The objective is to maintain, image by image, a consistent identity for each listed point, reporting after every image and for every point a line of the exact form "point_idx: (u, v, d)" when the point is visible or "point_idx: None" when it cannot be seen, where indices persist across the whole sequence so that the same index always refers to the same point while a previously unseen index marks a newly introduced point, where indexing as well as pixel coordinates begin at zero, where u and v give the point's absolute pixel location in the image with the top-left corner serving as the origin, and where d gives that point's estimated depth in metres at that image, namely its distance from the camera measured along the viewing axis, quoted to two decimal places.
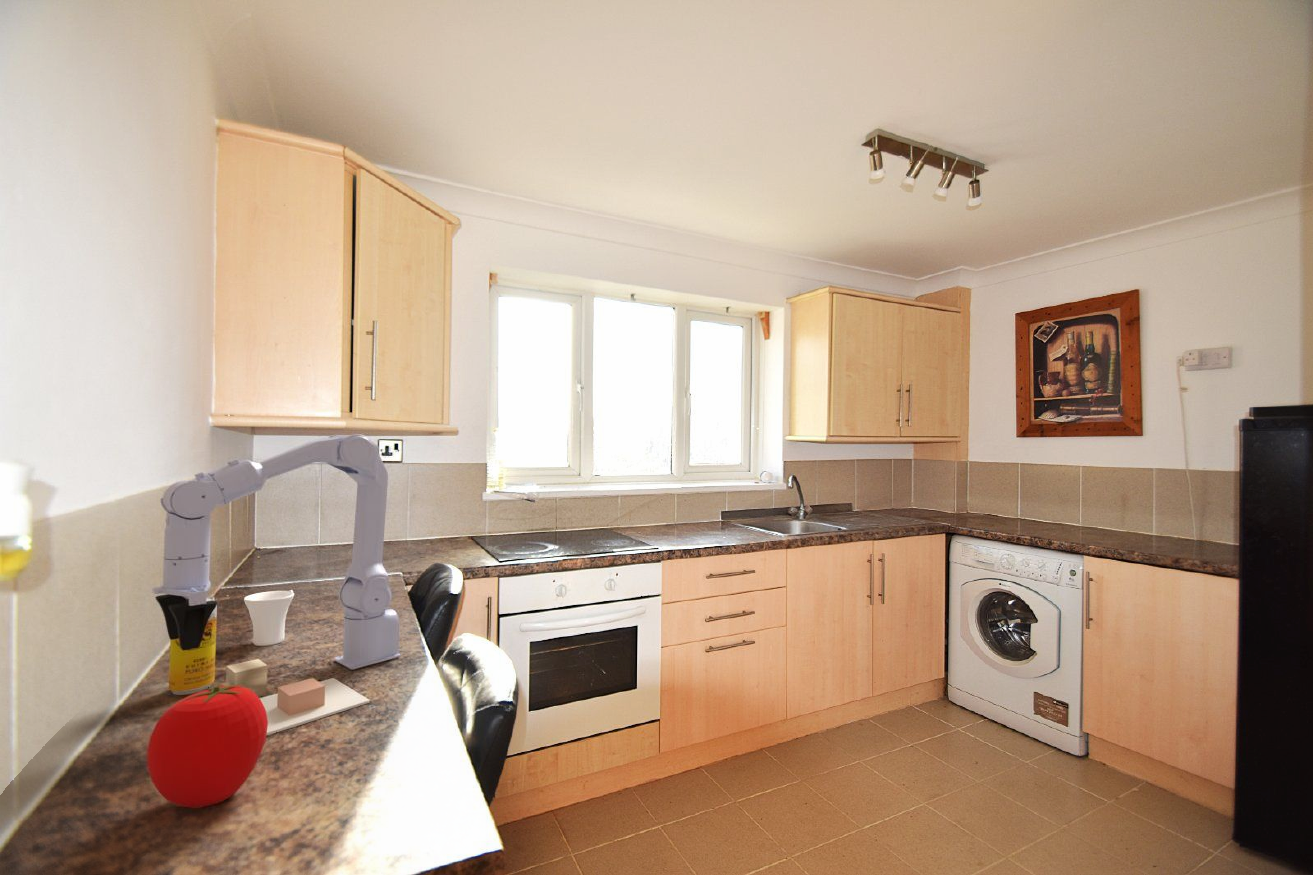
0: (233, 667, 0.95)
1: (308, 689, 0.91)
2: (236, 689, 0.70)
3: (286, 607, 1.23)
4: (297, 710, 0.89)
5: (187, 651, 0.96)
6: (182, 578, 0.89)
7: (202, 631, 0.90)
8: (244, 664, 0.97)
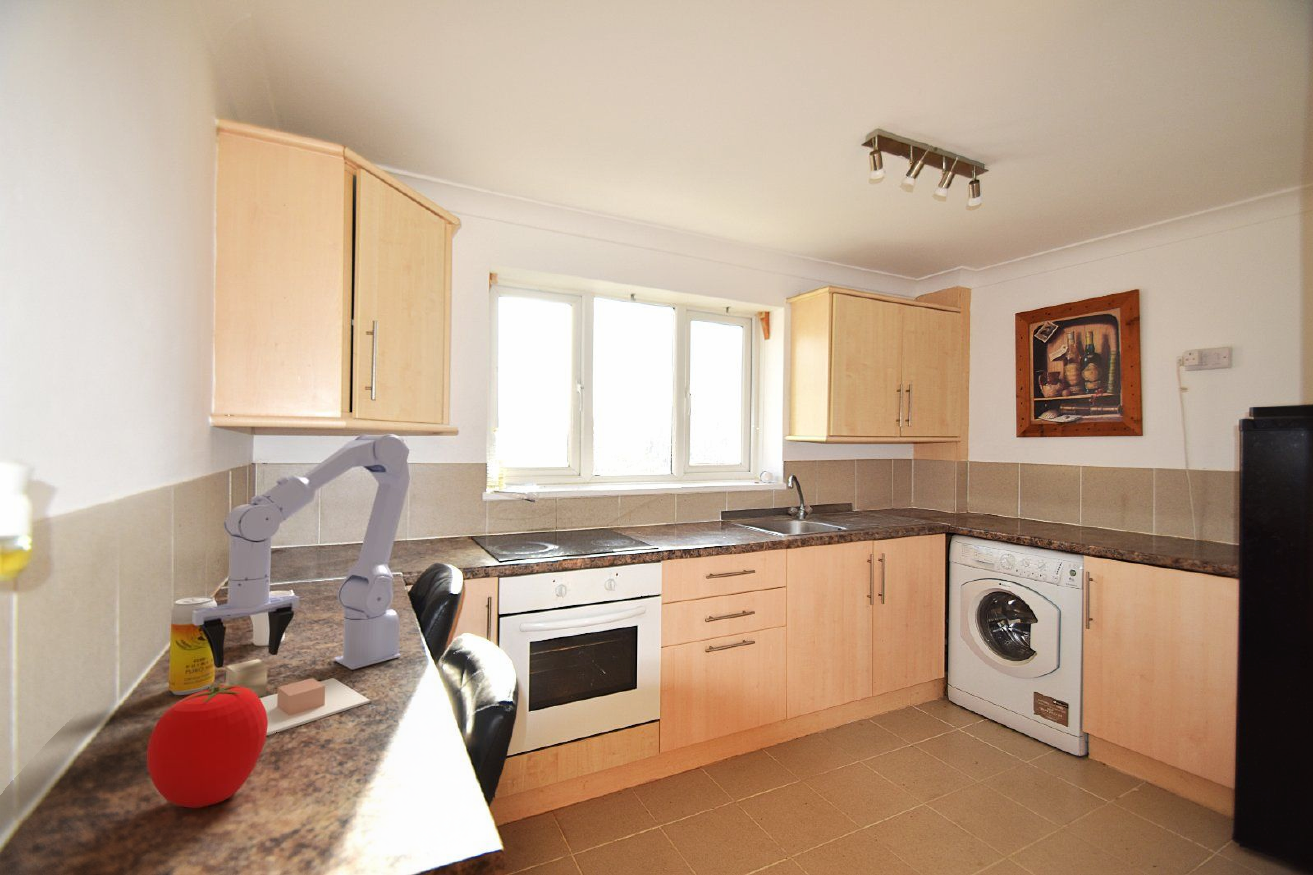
0: (233, 667, 0.95)
1: (308, 689, 0.91)
2: (236, 689, 0.70)
3: None
4: (297, 710, 0.89)
5: (188, 651, 0.96)
6: None
7: (215, 653, 0.92)
8: (244, 664, 0.97)
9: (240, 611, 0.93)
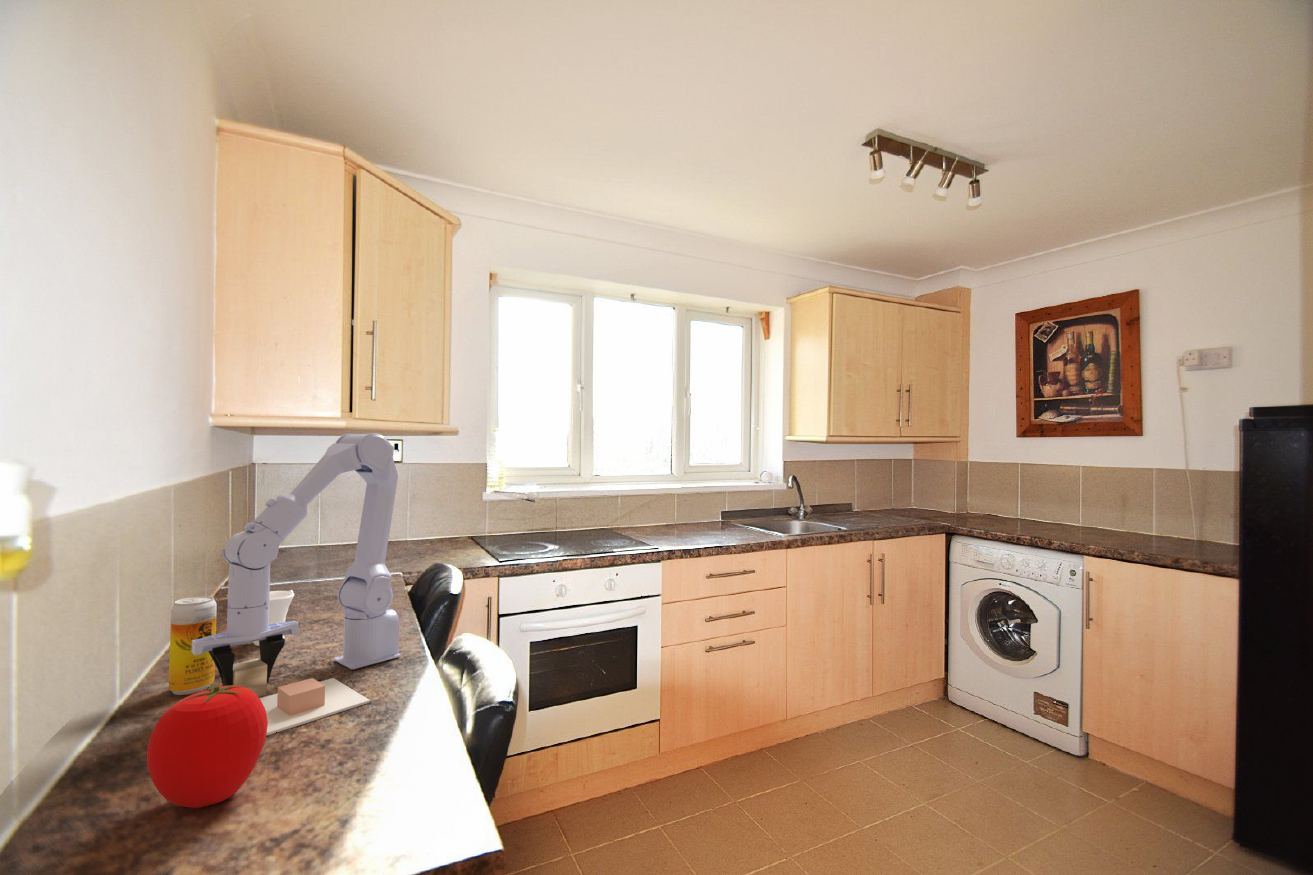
0: (233, 666, 0.95)
1: (308, 689, 0.91)
2: (236, 689, 0.70)
3: (286, 607, 1.23)
4: (297, 710, 0.89)
5: (187, 651, 0.96)
6: None
7: (225, 679, 0.93)
8: (244, 663, 0.97)
9: (239, 639, 0.93)
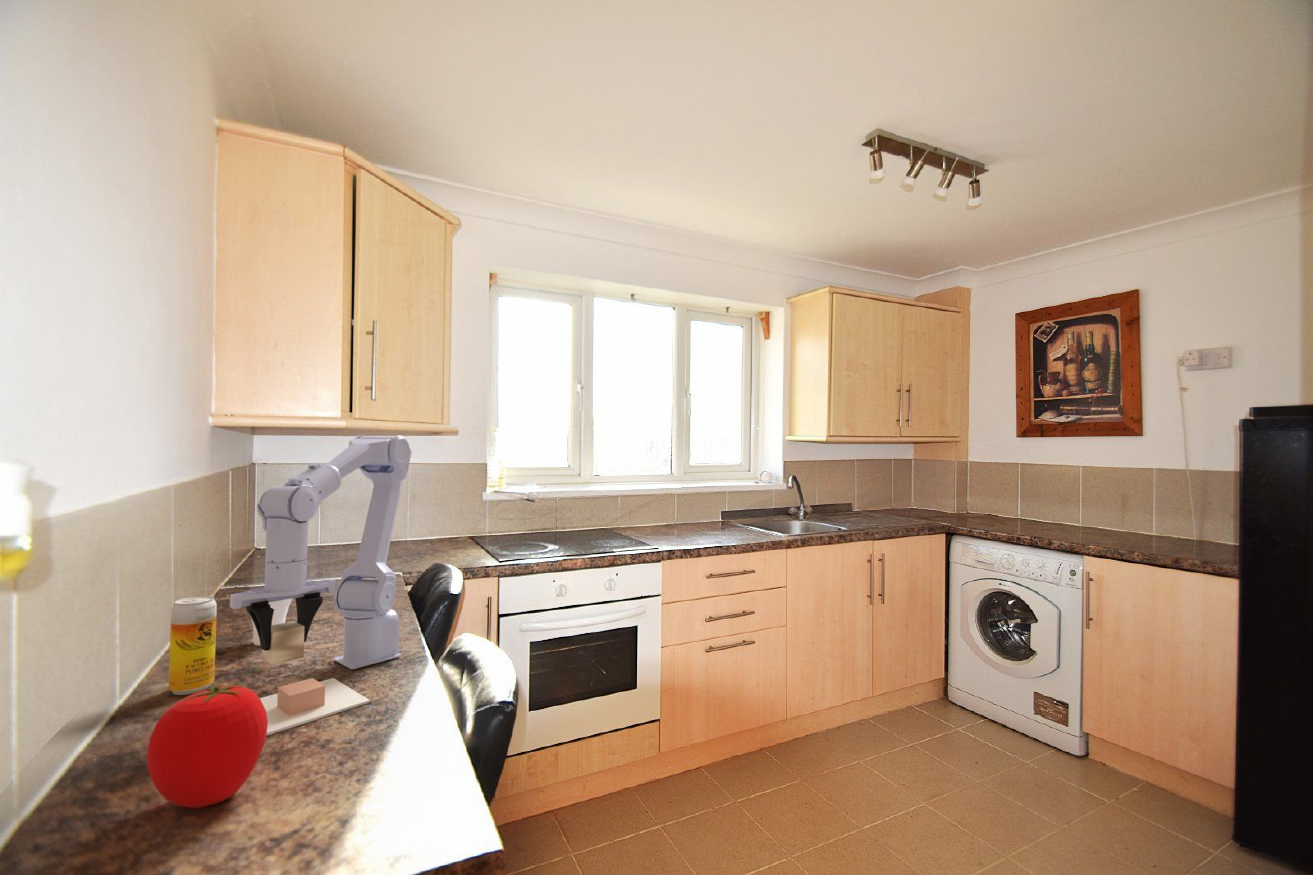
0: None
1: (308, 689, 0.91)
2: (236, 689, 0.70)
3: (286, 607, 1.23)
4: (297, 710, 0.89)
5: (187, 651, 0.96)
6: None
7: (263, 635, 0.90)
8: (280, 625, 0.94)
9: (278, 594, 0.91)
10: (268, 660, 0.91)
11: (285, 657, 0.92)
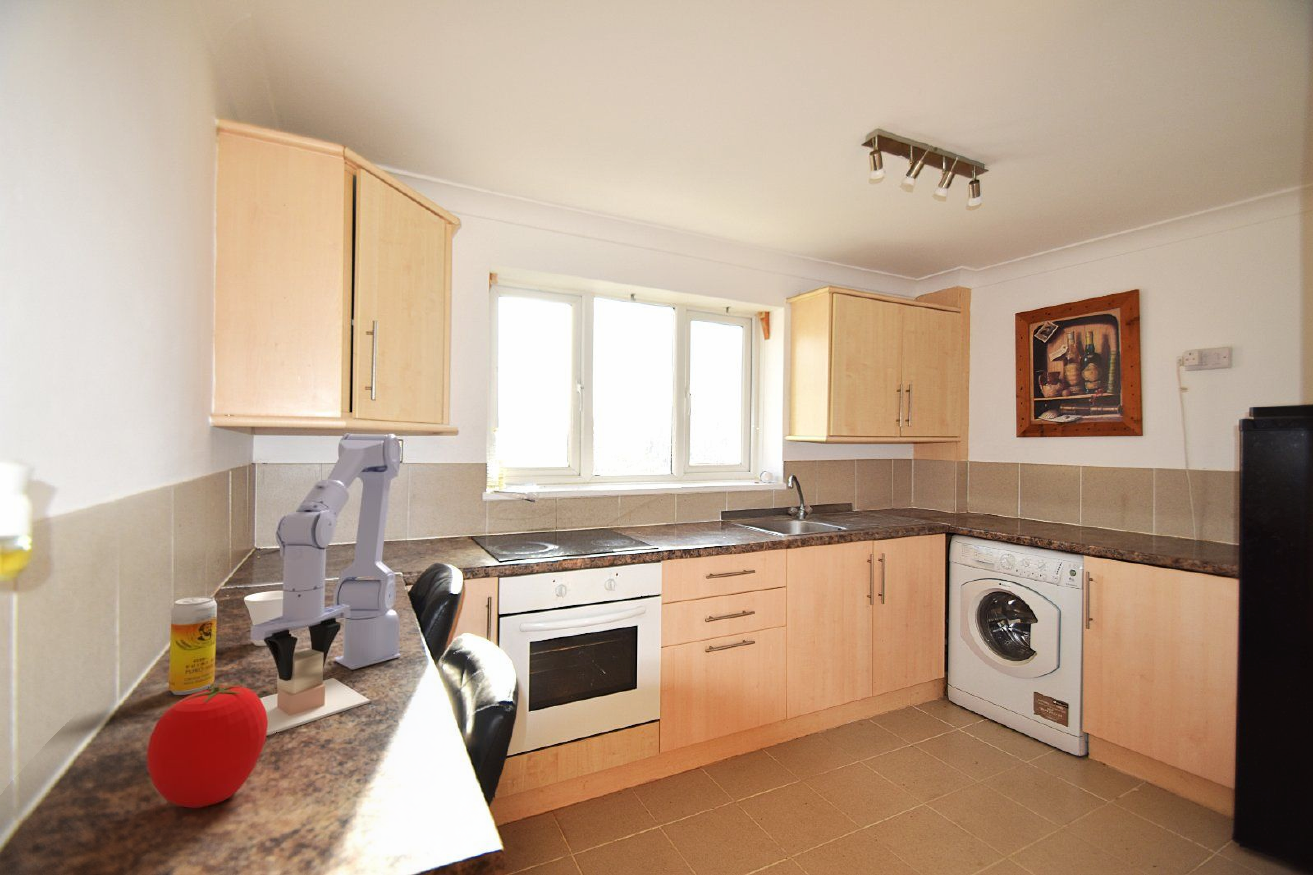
0: None
1: (308, 689, 0.91)
2: (236, 689, 0.70)
3: None
4: (297, 710, 0.89)
5: (187, 651, 0.96)
6: None
7: (285, 666, 0.88)
8: (296, 653, 0.92)
9: (301, 623, 0.89)
10: (288, 689, 0.90)
11: (306, 685, 0.91)
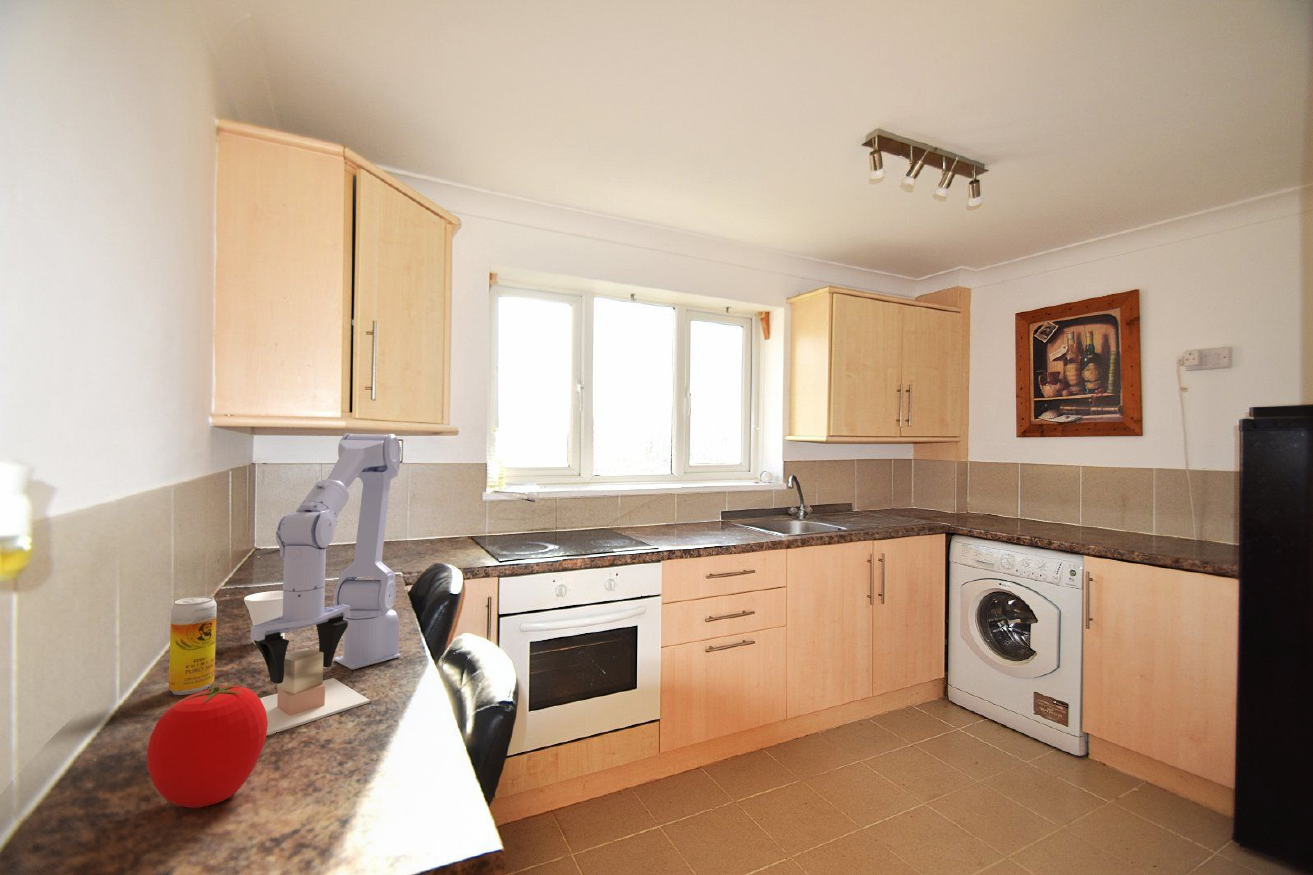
0: (287, 656, 0.91)
1: (308, 689, 0.91)
2: (236, 689, 0.70)
3: None
4: (297, 710, 0.89)
5: (187, 651, 0.96)
6: None
7: (276, 668, 0.87)
8: (296, 653, 0.92)
9: (301, 623, 0.89)
10: (288, 689, 0.90)
11: (306, 685, 0.91)
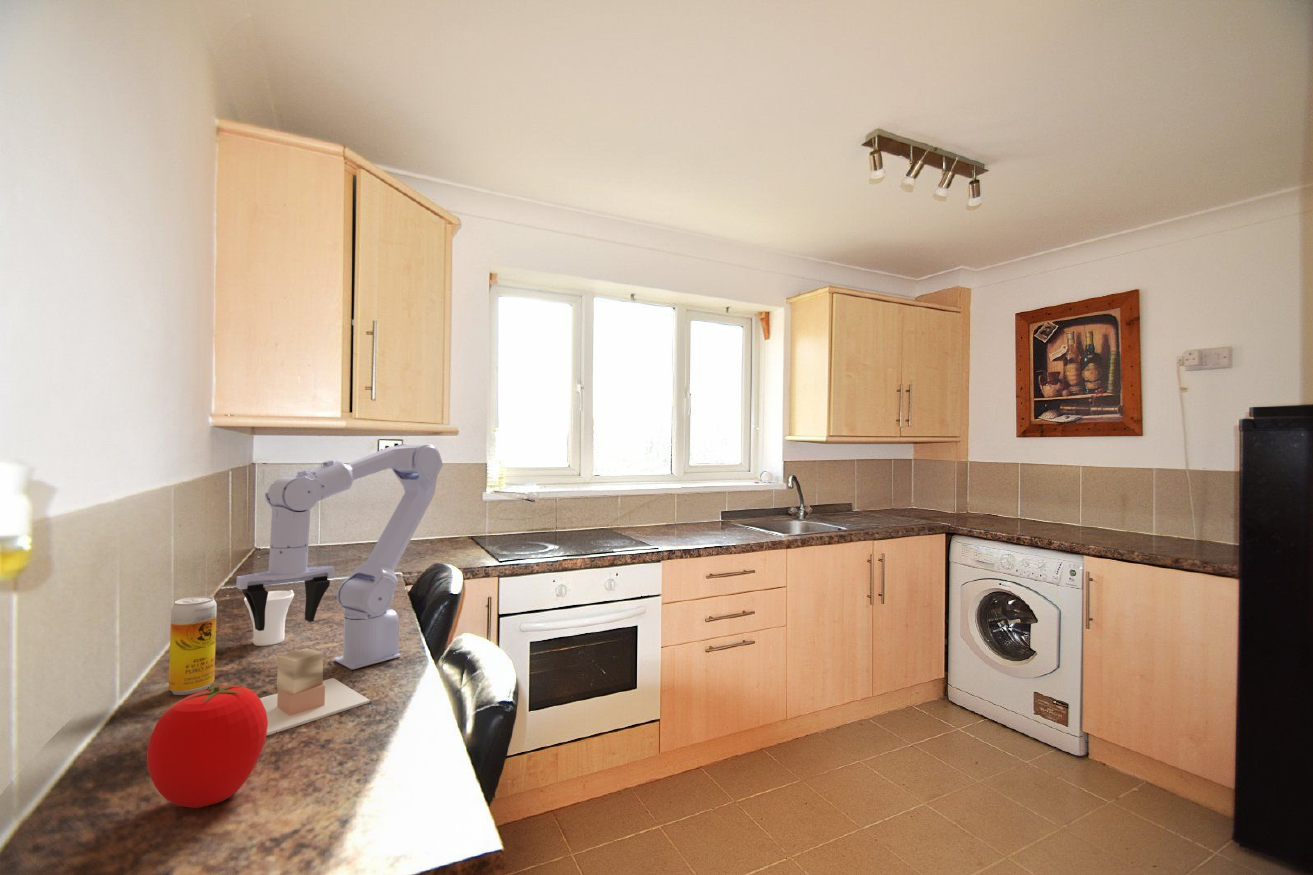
0: (287, 656, 0.91)
1: (308, 689, 0.91)
2: (236, 689, 0.70)
3: (286, 607, 1.23)
4: (297, 710, 0.89)
5: (187, 651, 0.96)
6: (269, 563, 1.00)
7: (258, 616, 0.96)
8: (296, 653, 0.92)
9: (281, 577, 0.98)
10: (288, 689, 0.90)
11: (306, 685, 0.91)
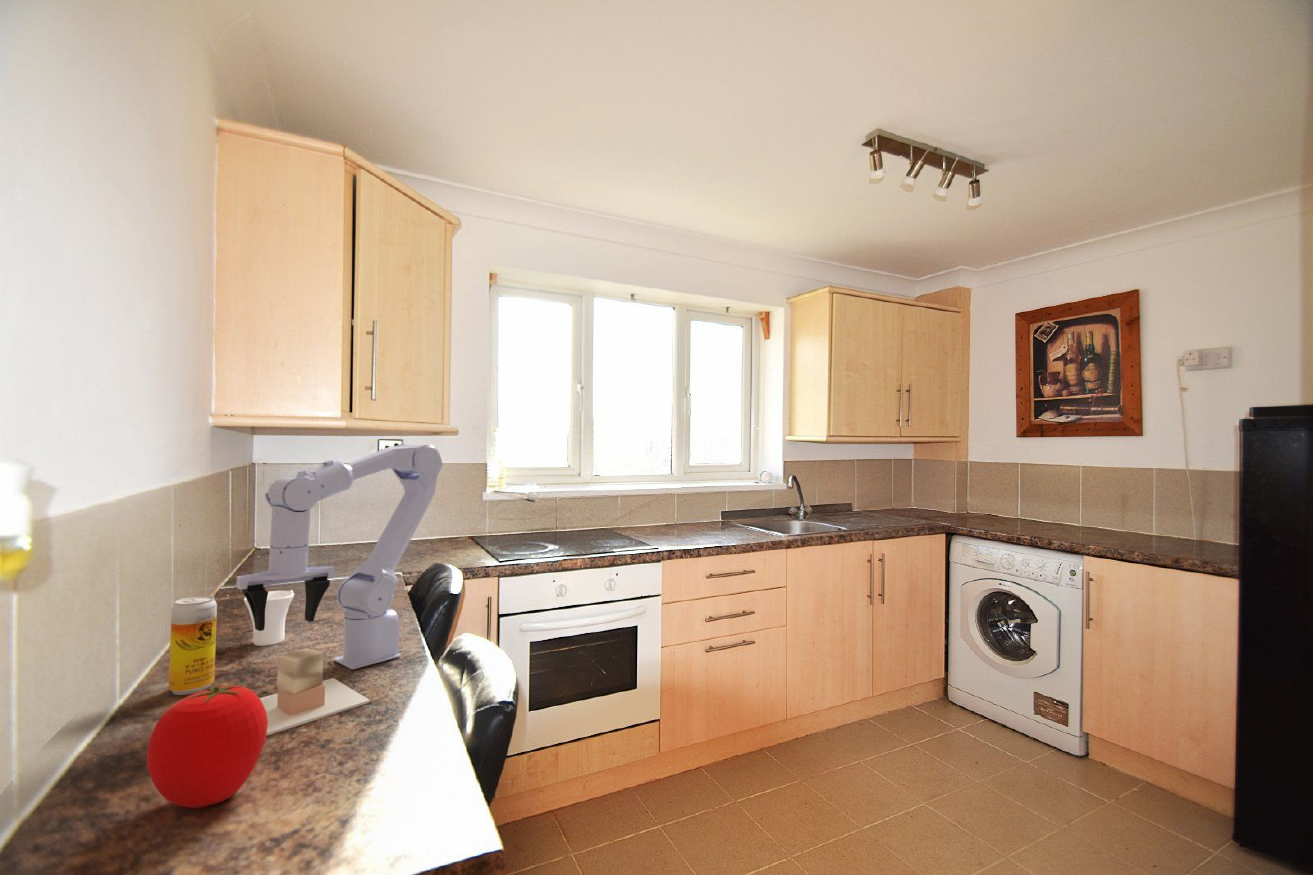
0: (287, 656, 0.91)
1: (308, 689, 0.91)
2: (236, 689, 0.70)
3: (286, 607, 1.23)
4: (297, 710, 0.89)
5: (187, 651, 0.96)
6: (269, 563, 1.00)
7: (258, 616, 0.96)
8: (296, 653, 0.92)
9: (281, 577, 0.98)
10: (288, 689, 0.90)
11: (306, 685, 0.91)
